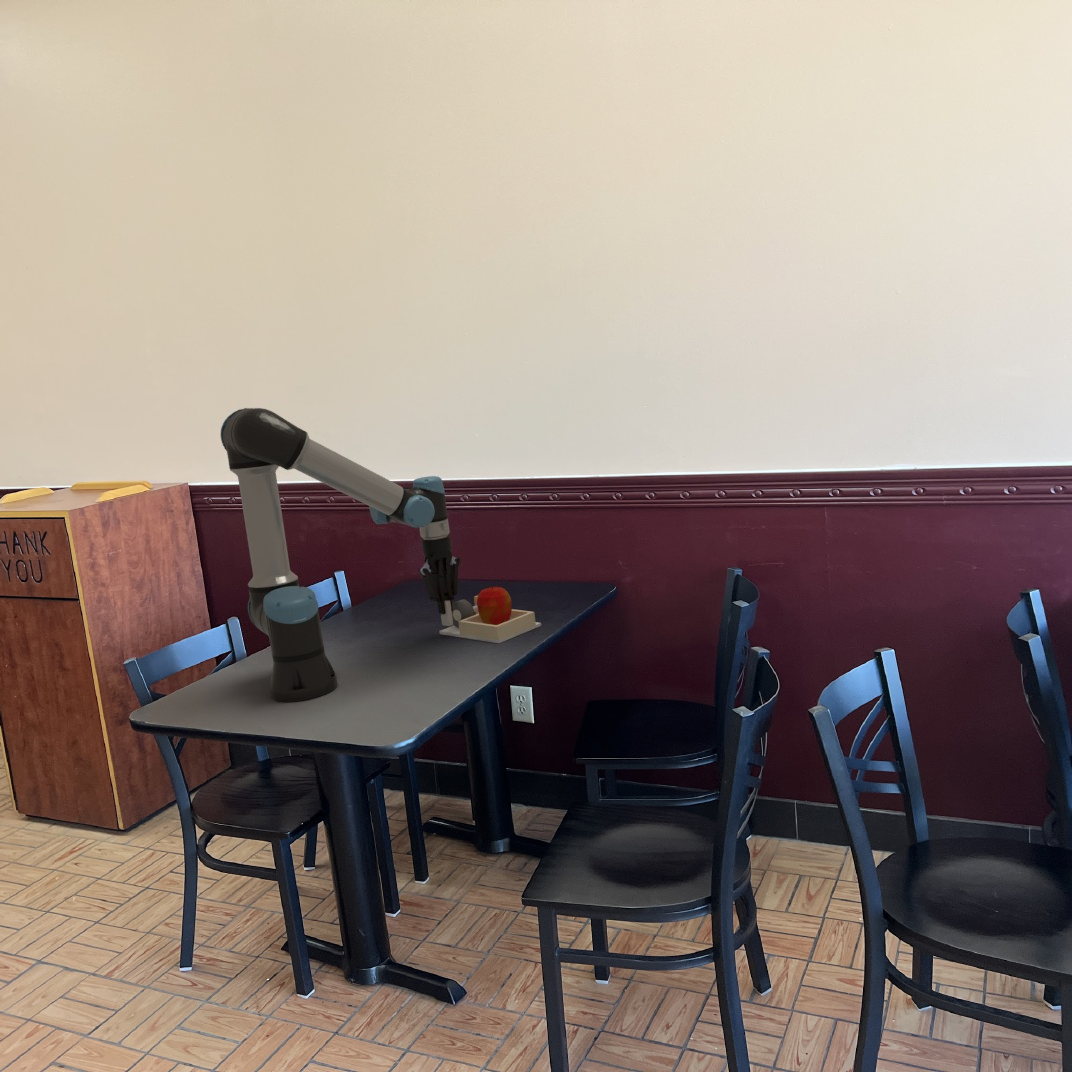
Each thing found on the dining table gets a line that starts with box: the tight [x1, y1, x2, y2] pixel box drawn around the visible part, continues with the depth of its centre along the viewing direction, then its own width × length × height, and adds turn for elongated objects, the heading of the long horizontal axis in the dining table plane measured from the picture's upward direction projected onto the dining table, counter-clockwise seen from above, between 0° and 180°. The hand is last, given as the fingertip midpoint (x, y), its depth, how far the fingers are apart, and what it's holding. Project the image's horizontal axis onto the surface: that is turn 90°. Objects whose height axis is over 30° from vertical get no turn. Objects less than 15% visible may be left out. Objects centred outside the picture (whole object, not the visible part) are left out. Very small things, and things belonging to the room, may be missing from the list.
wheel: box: [452, 598, 478, 628], centre depth 260 cm, size 8×7×7 cm
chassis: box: [438, 594, 542, 644], centre depth 256 cm, size 16×22×7 cm
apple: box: [477, 584, 513, 625], centre depth 252 cm, size 9×9×12 cm
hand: (447, 624), depth 255 cm, fingers closed
